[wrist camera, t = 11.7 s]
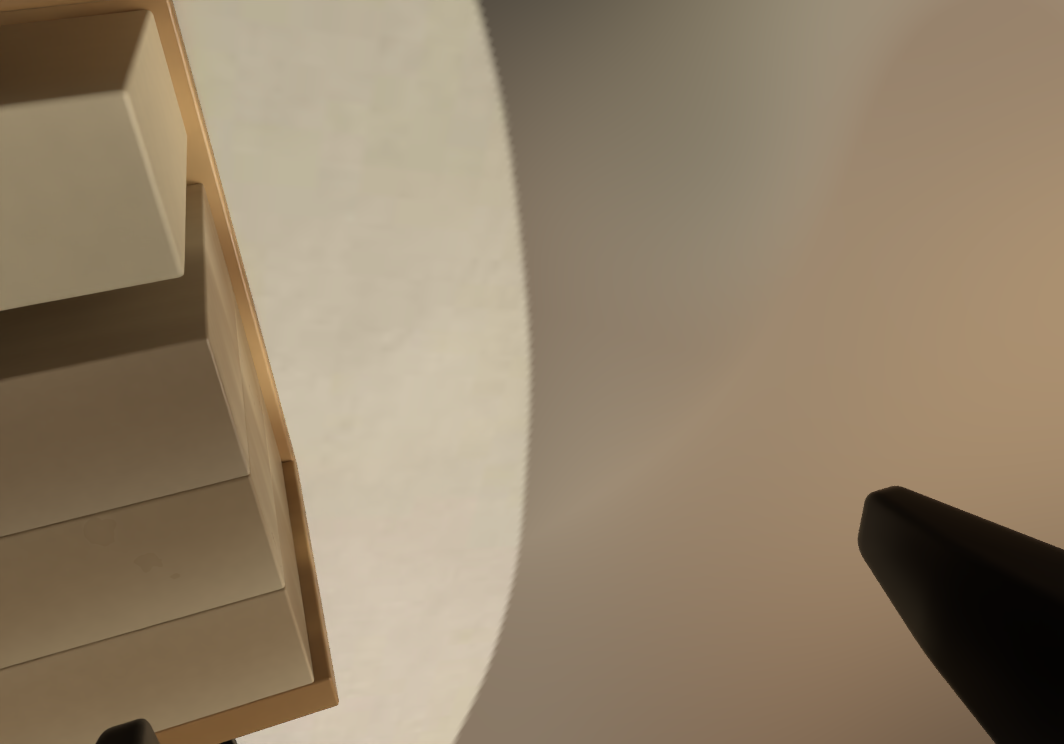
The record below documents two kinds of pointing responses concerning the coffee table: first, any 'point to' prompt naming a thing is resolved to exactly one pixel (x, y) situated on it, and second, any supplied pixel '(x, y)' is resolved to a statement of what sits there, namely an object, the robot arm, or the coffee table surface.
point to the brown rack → (152, 491)
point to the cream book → (88, 159)
